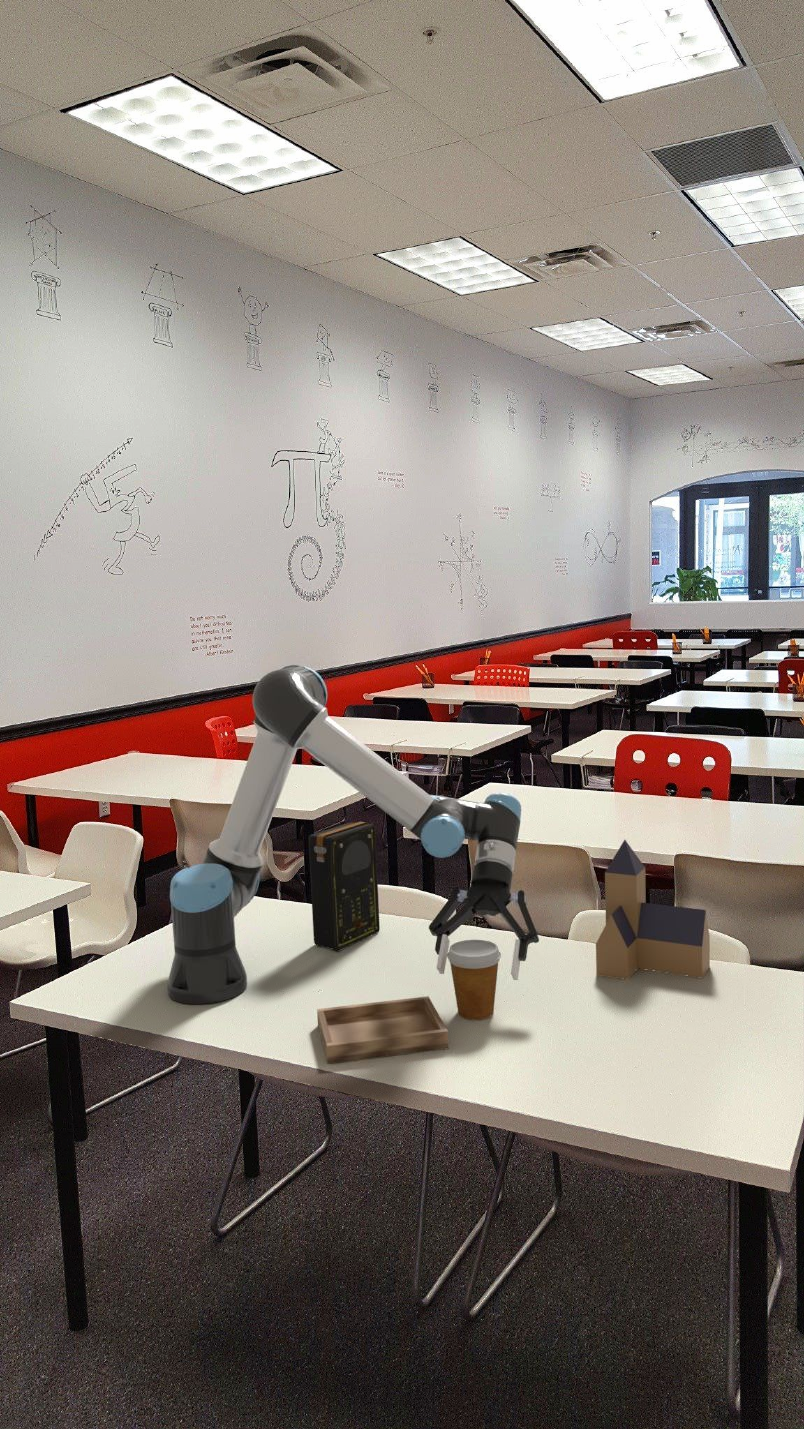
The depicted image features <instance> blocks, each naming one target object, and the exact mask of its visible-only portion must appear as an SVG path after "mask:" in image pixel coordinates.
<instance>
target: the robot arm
mask: <svg viewBox="0 0 804 1429" xmlns="http://www.w3.org/2000/svg"><path fill="white" fill-rule="evenodd" d="M327 689H328V688H327V686H326V683H325V681H324V679H323V678H322V676H321V675H320V674H319V673H318V672H317V671H315V670H314V669H312V668H310V667H308V666H304V665H300V664H291V665H286V666H284V667H282V668H279V669H276V670H272V671H270V672H268V673H267V674H265V675H263V676H262V677H261V678H260V680H258V682H257V684H256V685H255V686H254V690H253V694H252V707H253V710H254V713H255V716H254V720H253V724H254V726H255V728H256V731H257V732H256V733H257V734H256V736H255V739H254V741H253V745H252V747H251V750H250V753H249V756H248V758H247V761H246V763H245V764H246V765H245V767H244V770H243V772H242V776H241V778H240V781H239V784H238V786H237V789H236V791H235V794H234V797H233V801H232V803H231V805H230V808H229V811H228V814H227V816H226V820H225V822H224V824H223V825H224V826H223V828H222V830H221V833H220V836H219V838H217V839H215V840H213V841H211V842H210V843H209V844H208V847H207V850H206V853H205V856H204V858H203V861H202V863H199V864H194V865H191V866H189V867H185V868H182V869H181V870H179V871H177V872H176V873H175V874H174V876H173V877H172V878H171V881H170V890H169V900H170V908H171V924H172V932H173V933H172V934H173V946H174V955H173V960H172V963H171V967H170V972H169V974H168V975H169V976H168V980H167V995H168V997H169V998H170V999H171V1000H173V1001H174V1002H175V1001H176V1002H177V1003H182V1004H189V1005H206V1004H213V1003H219V1002H222V1001H223V1002H224V1001H228V1000H230V999H233V998H235V997H237V996H239V995H240V994H242V993H243V992H244V991H245V990H246V989H247V987H248V976H247V975H248V974H247V971H246V969H245V966H244V964H243V961H242V959H241V957H240V955H239V951H238V949H237V946H236V945H237V944H236V930H235V929H236V928H235V917H237V915H238V914H239V913H240V912H241V911H242V910H243V909H244V908H245V907H246V906H247V905H249V903H250V902H251V901H252V900H253V899H254V897H255V895H256V894H257V892H258V889H259V884H260V872H261V871H262V867H263V865H264V858H263V857H262V854H261V853H260V852H261V849H262V847H263V843H264V840H265V838H266V835H267V832H268V829H269V827H270V824H271V821H272V818H273V816H274V813H275V811H276V808H277V805H278V804H279V800H280V798H281V797H280V796H281V794H282V791H283V789H284V786H285V783H286V781H287V779H288V774H289V772H290V770H291V767H292V764H293V762H294V759H295V756H296V753H297V751H298V750H299V749H302V750H304V751H306V752H307V753H309V754H310V756H312V757H314V758H315V759H316V760H317V761H319V763H321V764H322V765H324V766H325V767H326V768H328V769H329V770H330V771H332V772H333V774H335V775H337V776H338V777H339V778H341V779H342V780H343V781H345V782H346V783H347V784H349V785H350V786H351V787H352V788H353V789H355V790H356V791H357V792H359V793H360V794H362V796H364V797H365V798H367V799H368V801H370V802H371V803H373V804H374V805H375V806H376V807H378V808H379V809H381V811H384V813H386V814H387V815H389V817H391V818H392V819H393V820H395V821H397V823H399V824H400V825H402V826H403V827H404V828H405V829H407V830H408V831H409V832H410V833H412V834H413V835H414V836H415V837H417V838H418V839H419V840H421V844H422V846H423V848H424V849H425V851H426V852H427V853H428V854H429V855H431V856H433V857H436V858H443V859H444V858H448V857H451V856H453V855H454V854H456V853H457V852H458V851H459V849H460V848H461V847H462V845H463V843H464V841H465V840H469V841H476V842H477V846H476V851H475V852H476V853H475V858H474V866H473V869H472V875H471V881H470V886H469V889H467V890H463V889H460V888H459V887H458V886H454V887H453V889H452V891H451V894H450V897H449V898H448V900H447V901H446V903H445V904H444V905H443V907H442V908H441V909H440V910H439V912H438V913H437V915H436V916H435V917H434V919H433V920H432V921H431V923H430V924H429V925H428V930H429V931H430V933H431V936H434V937H436V941H435V945H434V946H435V947H434V950H435V953H436V954H437V956H438V958H437V961H436V962H437V963H436V969H437V971H438V974H440V975H444V974H445V970H446V964H447V959H448V957H447V954H448V952H449V949H450V942H451V941H450V938H449V936H451V935H452V934H453V933H454V932H455V931H457V929H459V928H460V927H461V926H462V925H463V924H464V923H465V922H467V920H469V919H470V918H473V917H474V916H475V915H476V914H478V915H479V916H488V915H489V916H491V917H496V916H497V915H499V914H500V915H501V917H502V918H503V920H504V921H505V922H506V923H507V925H508V926H509V928H511V930H512V932H513V933H514V935H516V937H517V938H515V940H514V941H515V942H514V948H513V949H514V950H513V955H512V961H511V971H510V975H511V977H512V980H513V981H518V980H519V973H520V965H521V962H525V961H526V960H527V956H528V955H527V954H528V948H529V945H530V944H533V943H534V944H537V943H539V941H540V938H539V934H538V933H537V929H536V927H535V924H534V922H533V920H532V918H531V915H530V912H529V910H528V907H527V896H526V894H525V891H524V890H523V889H522V890H519V891H517V892H514V893H513V892H511V888H512V881H513V871H514V868H515V863H516V862H515V860H516V853H517V847H518V846H517V845H518V839H519V833H520V826H521V823H522V822H521V819H522V805H521V803H520V801H519V800H518V799H517V798H516V797H514V796H513V795H511V794H509V793H508V794H507V793H505V792H499V793H490V794H489V795H488V796H487V797H485V800H484V802H478V801H477V802H476V801H470V800H466V799H459V798H453V797H448V796H445V795H433V794H429V793H427V792H426V791H425V790H424V789H423V788H421V787H420V786H418V784H416V783H415V782H413V781H412V780H411V779H410V778H408V777H407V776H405V775H404V774H403V773H402V772H401V771H399V770H398V769H397V768H396V767H394V766H393V765H392V764H390V763H389V762H388V761H386V760H385V759H384V758H382V757H381V756H380V755H379V754H378V753H376V752H374V751H373V750H372V749H371V748H369V747H368V746H367V745H366V744H364V742H362V741H360V740H359V739H358V738H357V737H355V736H354V735H353V734H351V733H350V731H348V730H346V729H345V728H344V727H343V726H341V725H340V724H338V723H337V722H336V721H335V720H333V719H332V718H331V717H330V716H329V714H328V708H327V707H326V705H327V701H328V690H327ZM465 899H467V900H468V901H467V902H466V903H464V904H463V906H462V908H461V909H459V910H458V911H457V912H456V913H455V914H454V912H455V911H456V910H457V908H458V907H459V905H460V903H463V902H464V900H465ZM512 901H513V902H514V905H516V906H518V907H519V910H520V913H521V915H522V917H523V920H524V922H525V925H526V927H527V930H528V933H526V932H525V931H524V930H523V928H522V927H521V926H520V925H519V923H518V922H517V920H516V919H515V917H514V916H513V915H512V914H511V912H510V911H509V909H508V907H507V906H508V905H509V904H510V903H511V902H512ZM453 914H454V915H453Z"/></svg>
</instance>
